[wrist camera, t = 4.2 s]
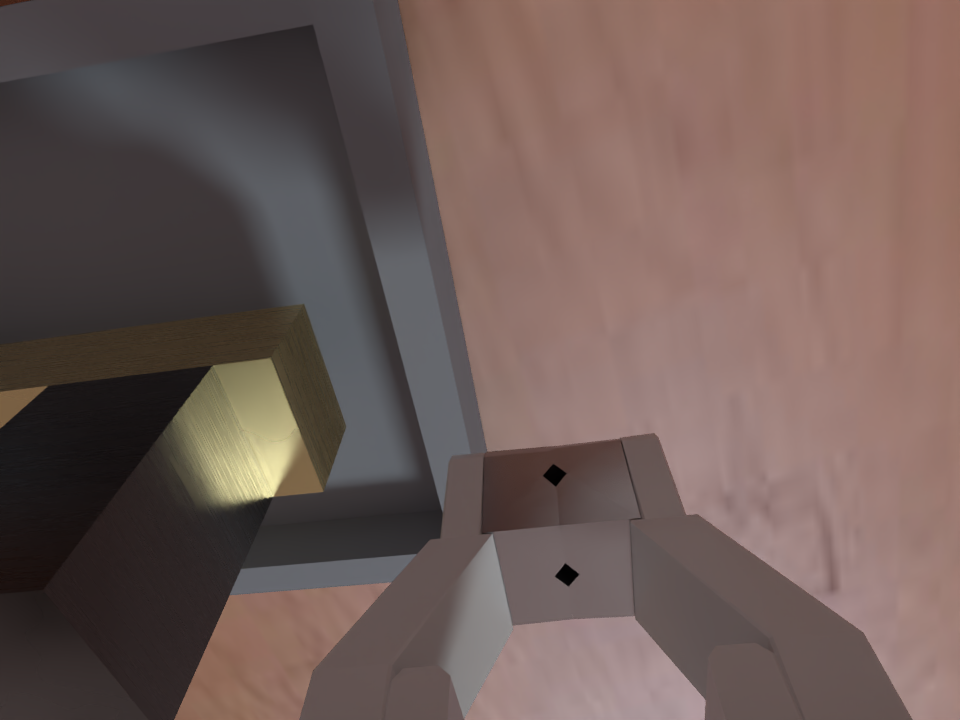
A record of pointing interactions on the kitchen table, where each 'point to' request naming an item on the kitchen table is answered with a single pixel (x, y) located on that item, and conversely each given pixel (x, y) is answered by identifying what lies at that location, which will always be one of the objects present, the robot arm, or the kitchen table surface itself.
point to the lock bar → (144, 498)
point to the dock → (248, 231)
